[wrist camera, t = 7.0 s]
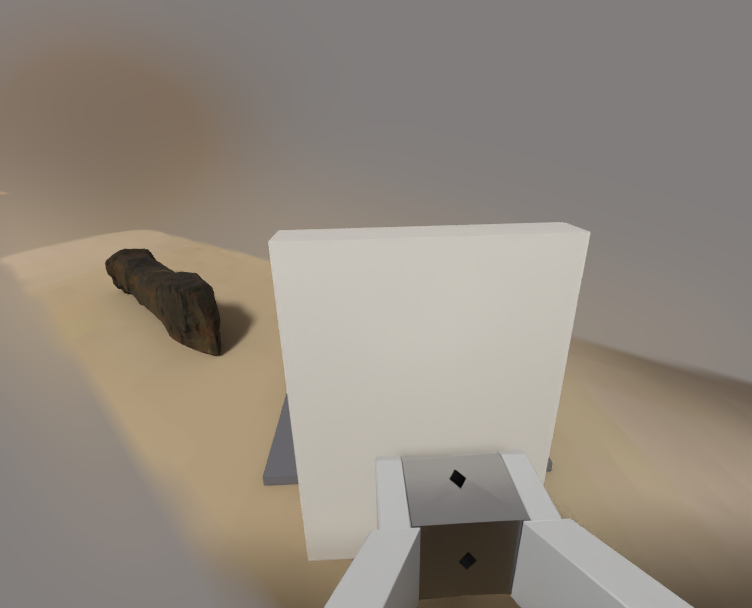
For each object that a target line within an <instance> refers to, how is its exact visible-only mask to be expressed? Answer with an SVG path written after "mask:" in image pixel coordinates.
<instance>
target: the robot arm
mask: <svg viewBox="0 0 752 608" xmlns="http://www.w3.org/2000/svg"><path fill="white" fill-rule="evenodd" d="M375 474H376V508H377V530H371V532H370V533H369V535H368V536H367V538H366V540H365V541H364V543H363V545H362V546H361V548H360V549H359V551H358V553H357V554H356V556H355V558H354V559H353V561H352V562H351V564H350V566H349V567H348V569H347V571H346V572H345V574H344V576H343V577H342V579H341V580H340V582H339V584H338V585H337V587H336V589H335V590H334V592H333V593H332V595H331V597H330V598H329V600H328V602H327V603H326V605H325V606H324V608H417V607H418V604H419V600H420V599H430V598H440V597H451V596H461V595H485V594H511V597H512V598H513V599H514V600H515V602H516V603H517V604H518V605H519V606H520V607H521V608H694V607H692V606H691V605H689V604H688V603H687V602H685V601H684V600H683V599H681V598H680V597H678V596H677V595H676V594H674V593H673V592H672V591H670V590H669V589H667V588H666V587H665V586H663V585H662V584H660V583H659V582H658V581H656V580H655V579H654V578H652V577H651V576H649V575H648V574H647V573H645V572H644V571H642V570H641V569H640V568H638V567H637V566H636V565H634V564H633V563H631V562H630V561H629V560H627V559H626V558H624V557H623V556H622V555H620V554H619V553H618V552H616V551H615V550H613V549H612V548H611V547H609V546H608V545H606V544H605V543H604V542H602V541H601V540H600V539H598V538H597V537H595V536H594V535H593V534H591V533H590V532H588V531H587V530H586V529H584V528H583V527H582V526H580V525H579V524H577V523H576V522H575V521H573V520H572V519H562V517H561V515H560V514H559V512H558V510H557V508H556V506H555V505H554V503H553V501H552V499H551V498H550V496H549V494H548V492H547V490H546V489H545V487H544V485H543V483H542V482H541V480H540V478H539V476H538V474H537V473H536V471H535V469H534V467H533V466H532V464H531V462H530V460H529V458H528V457H527V455H526V453H525V452H524V451H522V450H521V449H518V450H503V451H496V452H495V451H491V452H475V453H459V454H444V455H408V456H401V457H400V456H395V457H376V458H375Z"/></svg>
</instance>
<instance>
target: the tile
mask: <svg viewBox="0 0 752 608" xmlns="http://www.w3.org/2000/svg"><path fill="white" fill-rule="evenodd" d="M589 237H590V232H589V231H586V230H583V229H581V228H578V227H575V226H573V225H570V224H567V223H565V222H555V223H554V222H553V223H519V224H486V225H451V226H417V227H385V228H384V227H383V228H348V229H315V230H280V231H278V232H277V233H276V234H275V235H274V236H273V237H272V238H271V239H270V240H269V242H268V244H269V251H270V260H271V268H272V276H273V284H274V292H275V300H276V308H277V316H278V324H279V332H280V340H281V348H282V356H283V364H284V372H285V380H286V388H287V396H288V404H289V412H290V419H291V427H292V435H293V443H294V451H295V459H296V467H297V475H298V483H299V491H300V499H301V507H302V515H303V523H304V531H305V539H306V547H307V555H308V561H320V560H337V559H354V558H355V556H356V554H357V553H358V551H359V549H360V548H361V546H362V545H363V543H364V541H365V540H366V538H367V536H368V535H369V533H370V532H371V530H377V508H376V474H375V458H376V457H395V456H400V457H401V456H408V455H444V454H459V453H475V452H491V451H495V452H496V451H503V450H518V449H521V450H522V451H524V452H525V453H526V455H527V457H528V458H529V460H530V462H531V464H532V466H533V467H534V469H535V471H536V473H537V474H538V476H539V478H540V480H541V482H542V483H543V485H544V480H545V474H546V469H547V464H548V458H549V453H550V447H551V442H552V437H553V431H554V426H555V420H556V415H557V410H558V404H559V399H560V393H561V388H562V383H563V377H564V372H565V367H566V361H567V356H568V350H569V345H570V340H571V334H572V329H573V323H574V318H575V313H576V307H577V301H578V296H579V291H580V286H581V280H582V275H583V269H584V264H585V259H586V253H587V247H588V243H589Z"/></svg>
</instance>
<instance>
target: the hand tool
mask: <svg viewBox="0 0 752 608" xmlns="http://www.w3.org/2000/svg"><path fill="white" fill-rule="evenodd" d="M105 265H106V270H107V273H108V275H110V276H111V277H112V279H113V283H114V285H115V286H116V287H117V288H118V289H122V290H123V292H124V293H130V294H132V295H134V297H135V298H136V299H137V301H138V302H139V304H140V305H144V306H145V307H146V308H147V309H148V310H150V311H151V312H152V313H153V314H154V315H155V316H156V317H157V318H158V319H159V320H160V321H162V323H163V324H164V326H165V328H166V329H167V331H168V333H169V336H170V337H172V338H173V339H174V340H176V341H177V342H179V343H181V344H183V345H185V346H187V347H189V348H192V349H194V350H197V351H200V352H203V353H208V354H211V355H214V356H215V355H218V354H219V353H220V351H221V341H220V331H219V328H220V317H219V312H218V308H217V305H216V301H215V298H214V291H213V289H212V287H211V286H210V285H209V284H208V283H206V282H205V281H204V280H203V279H202V278H201V277H200V276H199V275H198V274H197V273H189V272H177V273H175V272H174V271H172V270H170V269H169V268H167V267H166V266H164V265H163V264H161V263H160V262H158V261H156V259H155V258H154V257H153V255H152V253H151V252H150V251H149V250H148V249H123V250H120V251H118V252H116V253H115V254H113V255H112V256H111V257H110V258H109V259H107V260H106V262H105Z"/></svg>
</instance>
